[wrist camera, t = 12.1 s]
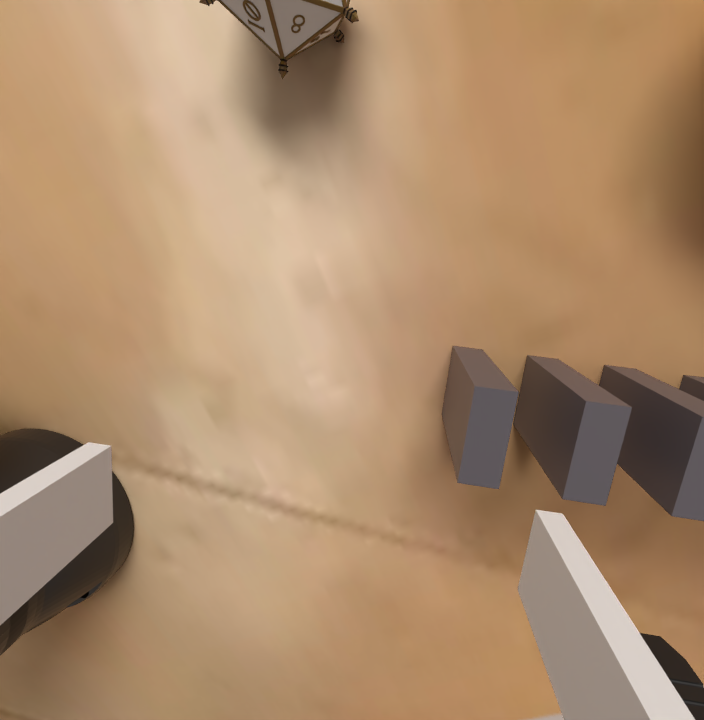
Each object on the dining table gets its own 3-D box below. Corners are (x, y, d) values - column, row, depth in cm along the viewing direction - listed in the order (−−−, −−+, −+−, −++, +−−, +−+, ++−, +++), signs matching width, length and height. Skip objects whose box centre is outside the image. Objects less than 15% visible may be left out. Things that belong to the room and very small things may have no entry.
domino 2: (513, 424, 31) (562, 499, 21) (527, 355, 30) (586, 401, 20) (542, 428, 31) (605, 505, 21) (557, 359, 29) (632, 407, 20)
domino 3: (586, 434, 30) (671, 516, 21) (604, 364, 29) (702, 416, 19) (617, 438, 30) (716, 523, 20) (635, 368, 29) (750, 423, 19)
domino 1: (441, 414, 31) (457, 482, 22) (452, 345, 30) (474, 386, 20) (470, 418, 31) (498, 489, 21) (482, 349, 30) (518, 392, 20)
